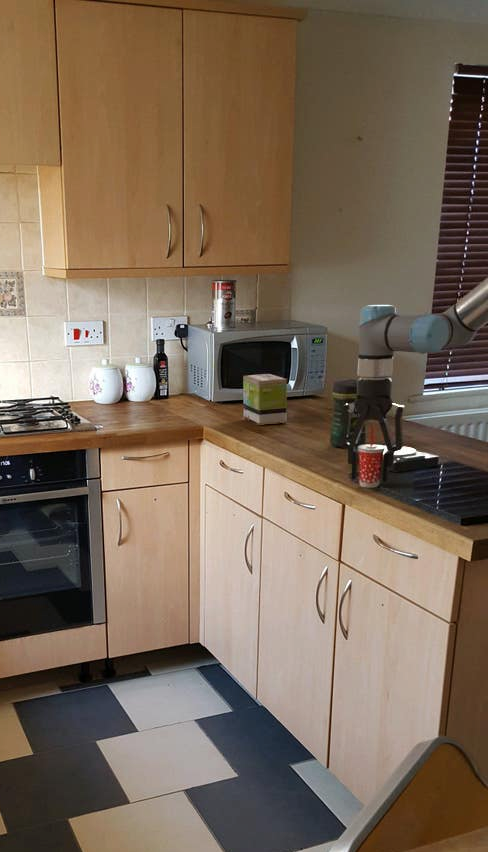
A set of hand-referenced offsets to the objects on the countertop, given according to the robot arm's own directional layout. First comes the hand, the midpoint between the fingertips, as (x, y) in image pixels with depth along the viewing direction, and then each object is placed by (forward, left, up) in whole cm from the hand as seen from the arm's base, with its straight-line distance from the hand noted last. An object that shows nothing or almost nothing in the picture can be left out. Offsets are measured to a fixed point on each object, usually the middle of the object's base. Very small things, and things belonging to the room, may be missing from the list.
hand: (369, 479), depth 202 cm
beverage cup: (0, 0, -2) cm, 2 cm away
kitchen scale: (+15, -20, -1) cm, 25 cm away
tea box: (+90, -28, -2) cm, 94 cm away
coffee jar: (+41, -25, -2) cm, 48 cm away
